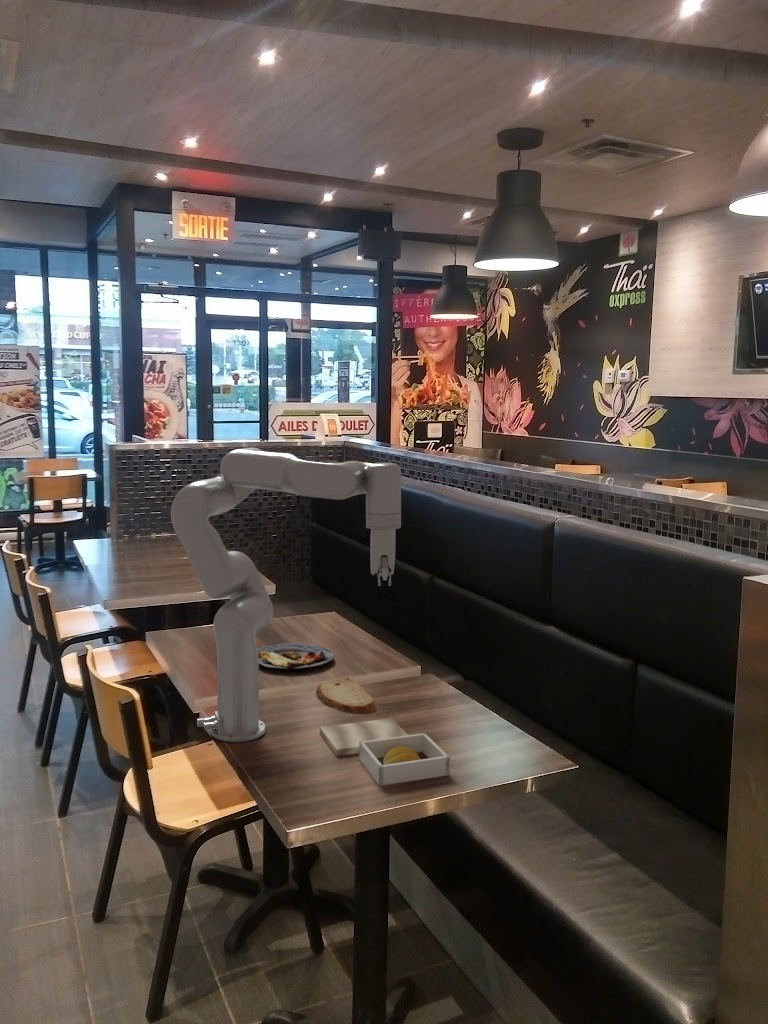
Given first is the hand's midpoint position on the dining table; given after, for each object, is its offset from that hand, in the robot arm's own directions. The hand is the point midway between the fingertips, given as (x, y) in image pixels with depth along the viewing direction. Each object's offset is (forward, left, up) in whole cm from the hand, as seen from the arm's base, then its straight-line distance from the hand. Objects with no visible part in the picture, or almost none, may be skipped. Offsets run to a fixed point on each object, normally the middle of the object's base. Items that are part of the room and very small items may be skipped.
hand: (383, 598), depth 180 cm
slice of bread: (+3, +33, -36) cm, 49 cm away
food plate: (-3, +67, -36) cm, 76 cm away
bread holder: (+2, -9, -35) cm, 36 cm away
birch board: (-1, +7, -35) cm, 36 cm away
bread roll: (+2, -9, -36) cm, 37 cm away
